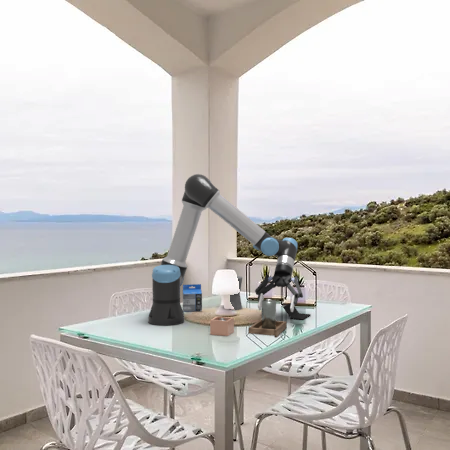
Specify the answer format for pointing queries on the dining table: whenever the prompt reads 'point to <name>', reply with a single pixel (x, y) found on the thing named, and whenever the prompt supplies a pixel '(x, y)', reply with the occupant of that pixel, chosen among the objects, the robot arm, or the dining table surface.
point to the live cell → (268, 314)
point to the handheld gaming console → (295, 313)
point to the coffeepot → (236, 297)
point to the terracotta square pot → (221, 326)
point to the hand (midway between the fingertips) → (275, 309)
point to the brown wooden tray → (258, 329)
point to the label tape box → (192, 298)
